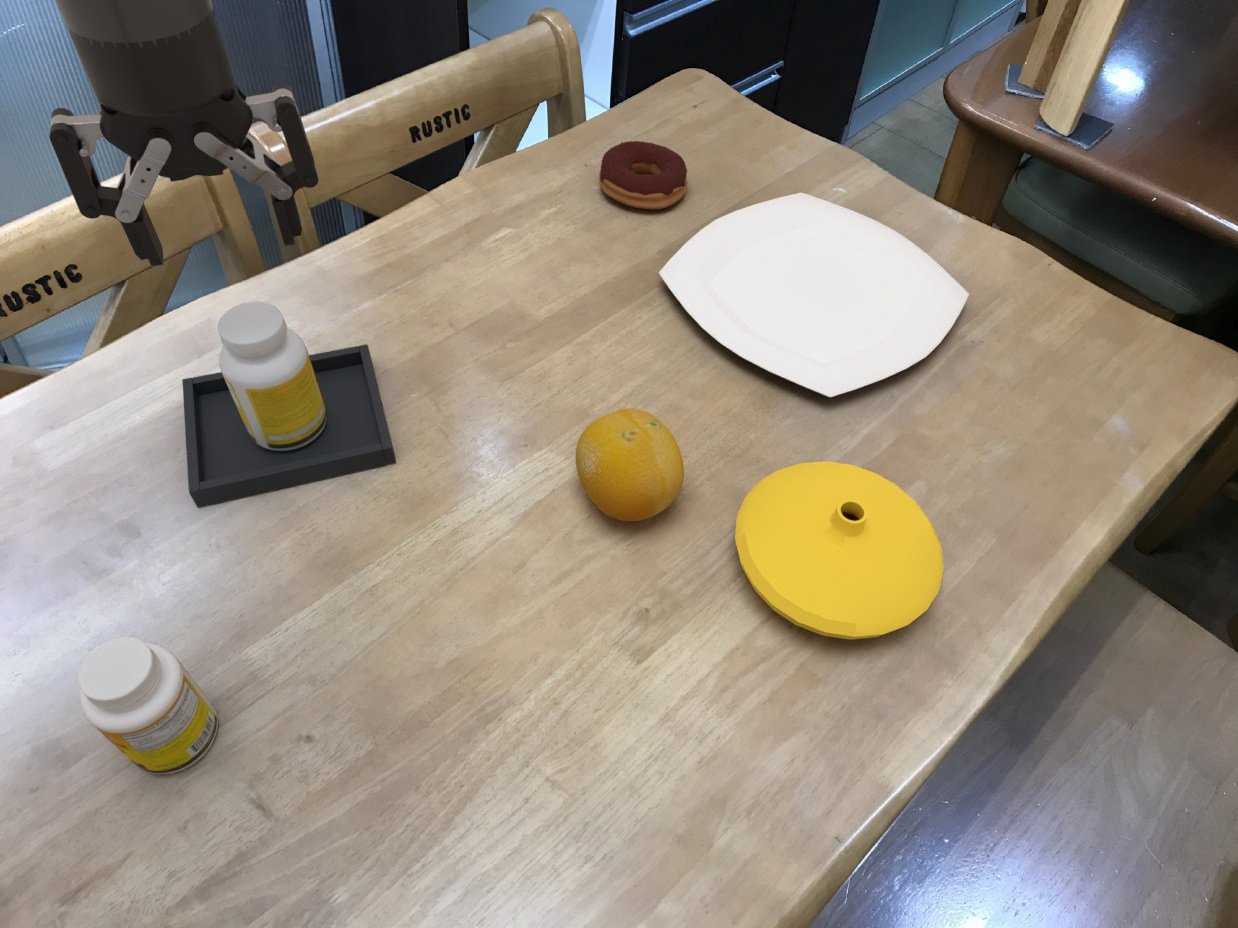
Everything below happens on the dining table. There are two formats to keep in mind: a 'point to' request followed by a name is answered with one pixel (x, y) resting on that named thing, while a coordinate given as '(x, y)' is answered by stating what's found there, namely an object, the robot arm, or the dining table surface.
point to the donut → (643, 175)
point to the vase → (838, 550)
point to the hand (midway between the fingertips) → (225, 248)
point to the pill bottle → (270, 377)
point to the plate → (815, 293)
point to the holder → (244, 468)
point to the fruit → (629, 464)
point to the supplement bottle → (146, 704)
